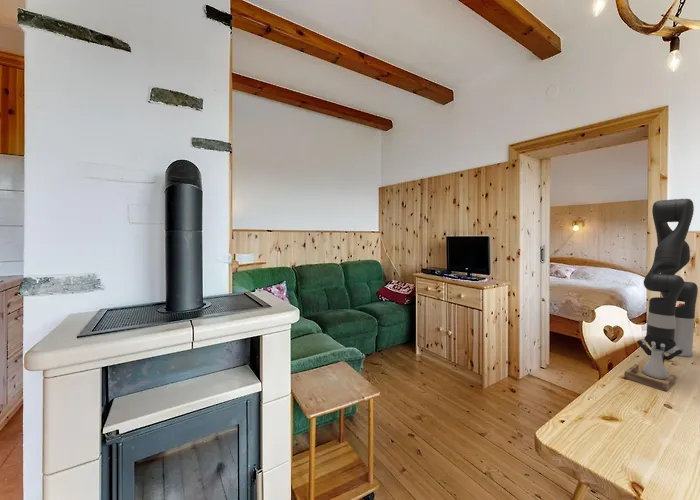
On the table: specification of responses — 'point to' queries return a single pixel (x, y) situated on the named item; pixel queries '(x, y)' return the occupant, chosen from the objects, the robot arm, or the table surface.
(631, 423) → the table surface
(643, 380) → the corral
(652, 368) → the flask
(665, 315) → the robot arm
